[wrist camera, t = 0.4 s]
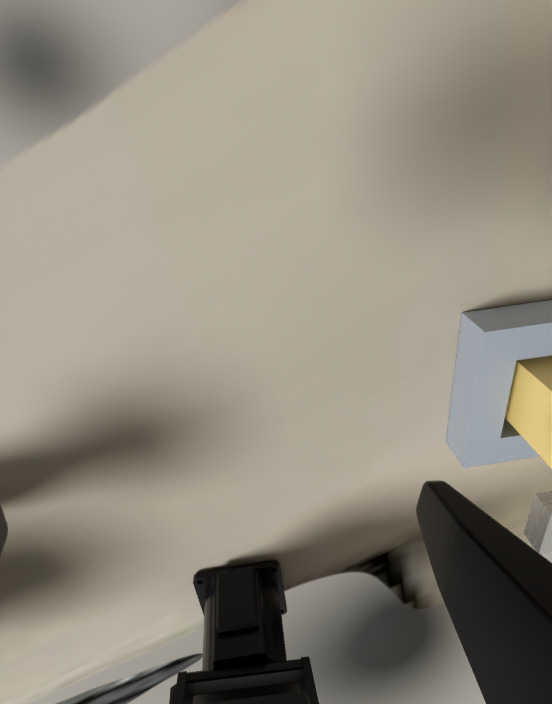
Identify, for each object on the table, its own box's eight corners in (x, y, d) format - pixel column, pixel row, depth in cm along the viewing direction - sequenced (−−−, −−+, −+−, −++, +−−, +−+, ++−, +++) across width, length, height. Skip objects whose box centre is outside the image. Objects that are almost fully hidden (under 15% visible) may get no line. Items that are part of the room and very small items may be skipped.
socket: (582, 420, 29) (610, 445, 27) (446, 441, 29) (463, 468, 26) (625, 289, 24) (662, 306, 22) (462, 312, 24) (485, 332, 22)
